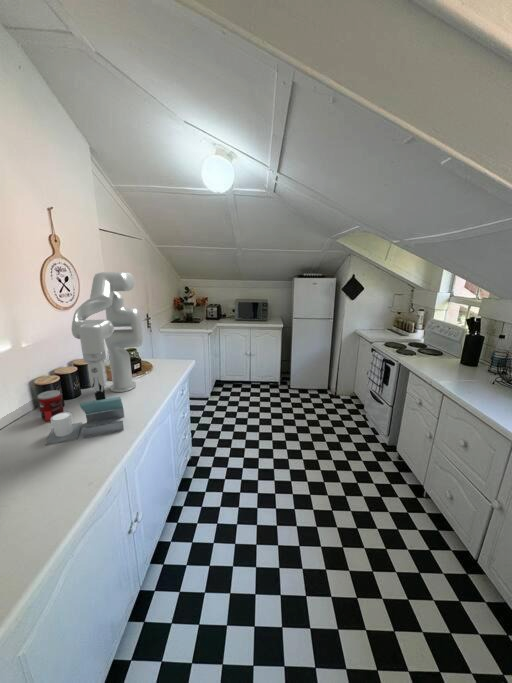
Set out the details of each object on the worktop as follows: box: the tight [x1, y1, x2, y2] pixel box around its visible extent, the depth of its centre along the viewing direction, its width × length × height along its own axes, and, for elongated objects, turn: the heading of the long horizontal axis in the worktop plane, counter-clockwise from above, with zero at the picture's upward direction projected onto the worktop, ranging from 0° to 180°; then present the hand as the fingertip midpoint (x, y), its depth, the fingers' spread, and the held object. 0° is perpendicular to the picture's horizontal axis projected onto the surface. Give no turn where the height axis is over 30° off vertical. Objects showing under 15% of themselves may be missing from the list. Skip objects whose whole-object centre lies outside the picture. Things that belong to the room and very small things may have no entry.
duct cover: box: [79, 396, 124, 415], centre depth 115 cm, size 12×14×1 cm
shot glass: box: [50, 411, 73, 436], centre depth 110 cm, size 7×7×7 cm
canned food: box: [37, 389, 65, 422], centre depth 121 cm, size 8×8×11 cm
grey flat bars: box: [81, 407, 125, 439], centre depth 116 cm, size 12×14×4 cm
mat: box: [45, 421, 83, 446], centre depth 111 cm, size 12×10×1 cm
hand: (100, 400), depth 112 cm, fingers closed
